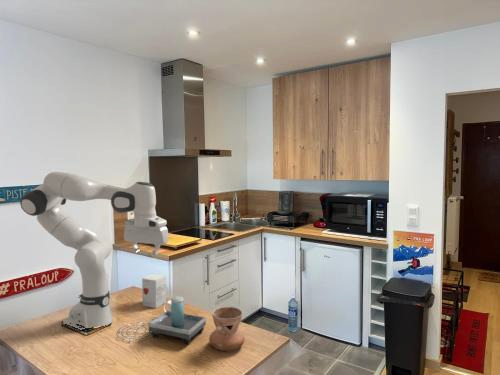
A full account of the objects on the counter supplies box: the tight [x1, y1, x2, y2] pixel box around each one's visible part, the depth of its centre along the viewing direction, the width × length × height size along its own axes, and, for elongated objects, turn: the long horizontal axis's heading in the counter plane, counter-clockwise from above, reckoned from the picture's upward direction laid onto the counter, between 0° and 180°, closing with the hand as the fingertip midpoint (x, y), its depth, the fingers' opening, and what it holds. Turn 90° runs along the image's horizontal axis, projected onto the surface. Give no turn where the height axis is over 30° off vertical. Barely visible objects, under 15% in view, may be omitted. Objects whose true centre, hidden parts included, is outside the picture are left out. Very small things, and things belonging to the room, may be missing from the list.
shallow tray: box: [148, 309, 207, 345], centre depth 153 cm, size 20×14×6 cm
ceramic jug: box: [208, 306, 246, 352], centre depth 144 cm, size 18×14×14 cm
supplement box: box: [141, 273, 167, 309], centre depth 185 cm, size 9×9×15 cm
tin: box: [170, 296, 185, 326], centre depth 152 cm, size 5×5×11 cm
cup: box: [162, 299, 171, 313], centre depth 170 cm, size 7×10×8 cm
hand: (145, 253), depth 146 cm, fingers open, 8 cm apart
